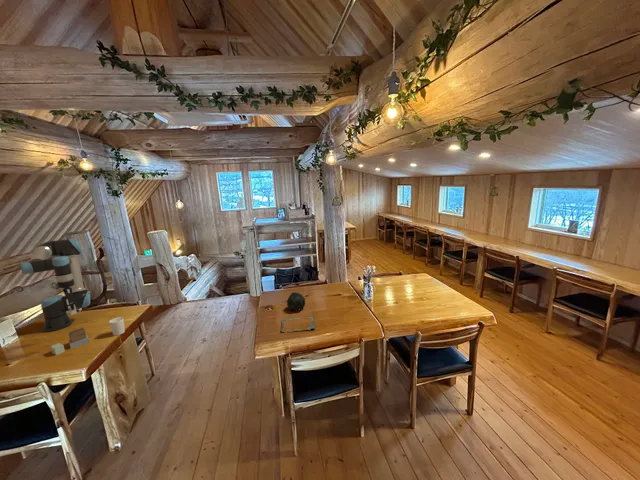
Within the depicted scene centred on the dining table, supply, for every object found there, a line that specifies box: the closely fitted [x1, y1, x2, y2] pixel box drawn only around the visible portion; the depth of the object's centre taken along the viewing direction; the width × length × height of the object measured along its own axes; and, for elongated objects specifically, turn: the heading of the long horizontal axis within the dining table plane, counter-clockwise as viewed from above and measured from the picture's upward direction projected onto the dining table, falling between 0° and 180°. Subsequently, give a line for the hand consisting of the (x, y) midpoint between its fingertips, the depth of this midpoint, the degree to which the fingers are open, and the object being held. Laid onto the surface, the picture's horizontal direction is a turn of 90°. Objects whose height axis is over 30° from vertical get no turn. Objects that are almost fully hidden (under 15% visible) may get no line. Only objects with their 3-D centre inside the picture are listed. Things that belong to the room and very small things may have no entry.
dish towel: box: [280, 316, 316, 332], centre depth 180 cm, size 17×23×2 cm
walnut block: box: [68, 326, 87, 343], centre depth 167 cm, size 6×7×6 cm
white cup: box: [108, 316, 126, 336], centre depth 179 cm, size 8×8×10 cm
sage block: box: [50, 342, 66, 356], centre depth 159 cm, size 6×4×4 cm, turn 64°
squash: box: [286, 292, 306, 311], centre depth 206 cm, size 14×15×15 cm
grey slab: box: [68, 334, 90, 350], centre depth 168 cm, size 7×9×4 cm
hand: (72, 310), depth 168 cm, fingers open, 13 cm apart
